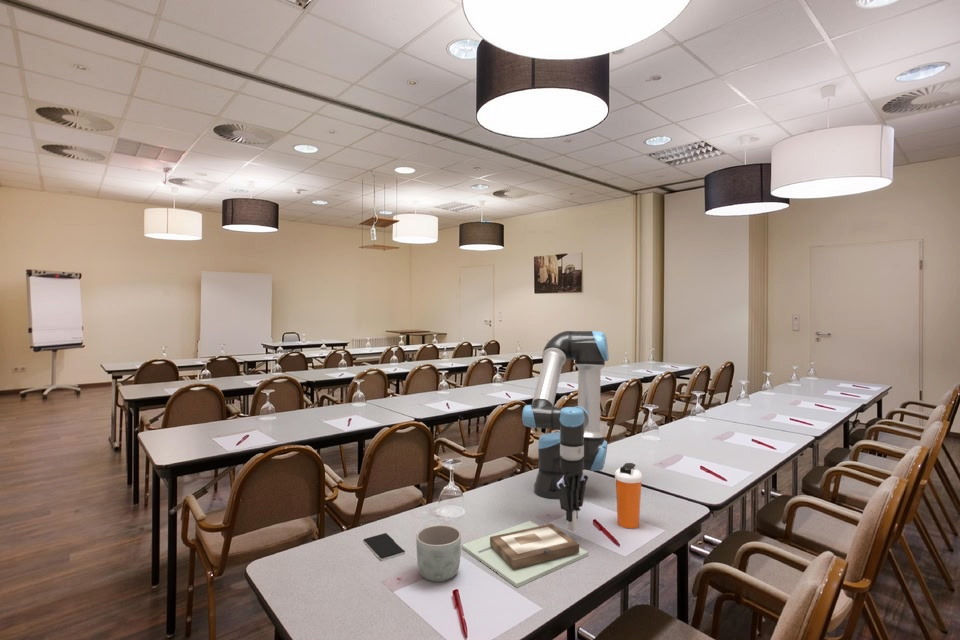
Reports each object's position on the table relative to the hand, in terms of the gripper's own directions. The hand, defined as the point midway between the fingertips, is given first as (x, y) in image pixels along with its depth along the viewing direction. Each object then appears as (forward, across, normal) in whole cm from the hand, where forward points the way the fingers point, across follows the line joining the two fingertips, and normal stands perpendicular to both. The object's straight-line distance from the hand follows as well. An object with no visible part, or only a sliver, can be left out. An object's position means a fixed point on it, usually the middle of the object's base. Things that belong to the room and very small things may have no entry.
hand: (571, 530), depth 154 cm
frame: (+1, -16, 0) cm, 16 cm away
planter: (+3, -45, +8) cm, 46 cm away
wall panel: (+3, -18, +3) cm, 18 cm away
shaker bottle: (+3, +23, -4) cm, 24 cm away
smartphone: (+3, -51, +30) cm, 59 cm away
